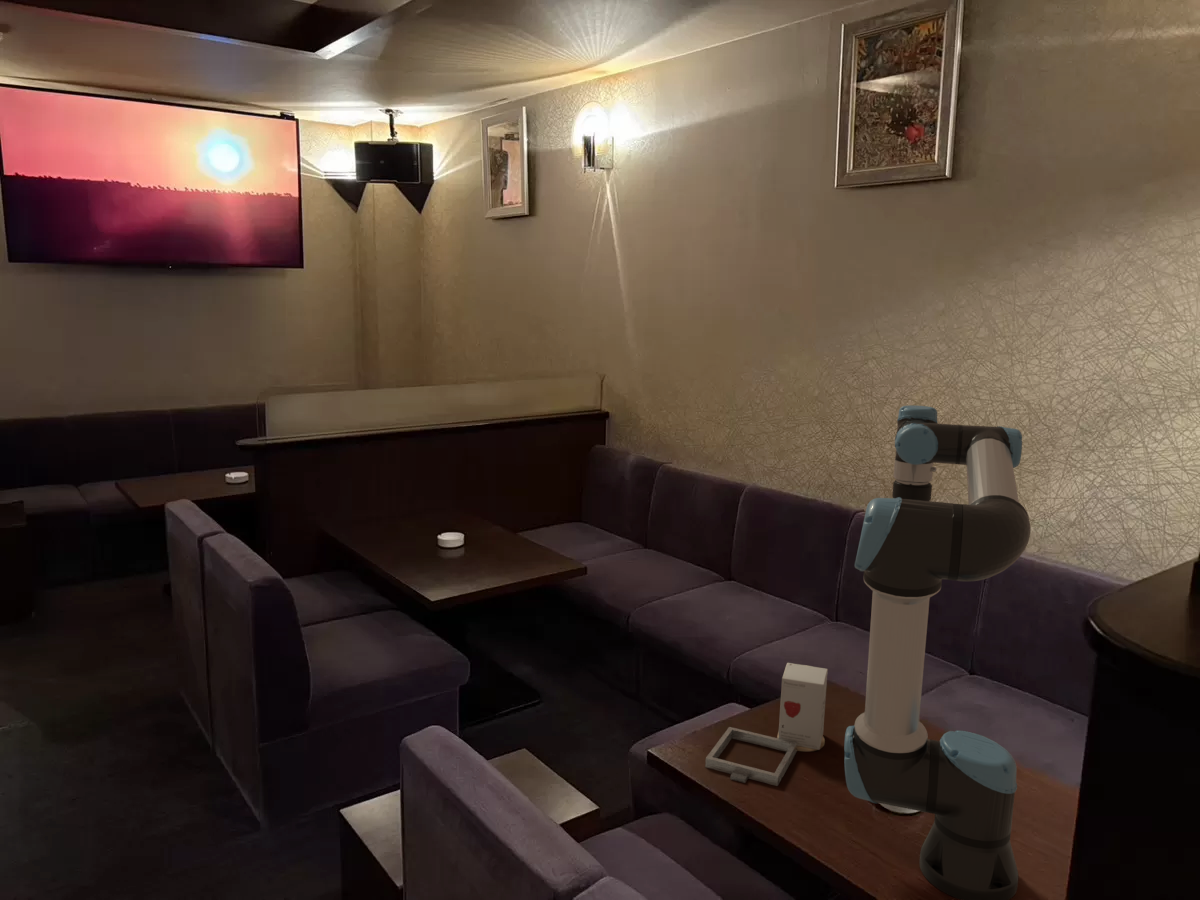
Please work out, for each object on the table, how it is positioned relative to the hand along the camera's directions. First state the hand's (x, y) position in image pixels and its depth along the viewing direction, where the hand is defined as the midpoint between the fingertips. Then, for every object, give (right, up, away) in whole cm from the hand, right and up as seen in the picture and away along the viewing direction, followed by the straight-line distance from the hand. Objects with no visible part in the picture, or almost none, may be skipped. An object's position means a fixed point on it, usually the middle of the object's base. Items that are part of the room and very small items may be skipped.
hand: (905, 580), depth 183 cm
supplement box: (-20, -35, +7) cm, 41 cm away
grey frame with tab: (-32, -37, -1) cm, 49 cm away
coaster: (-20, -36, +7) cm, 42 cm away
